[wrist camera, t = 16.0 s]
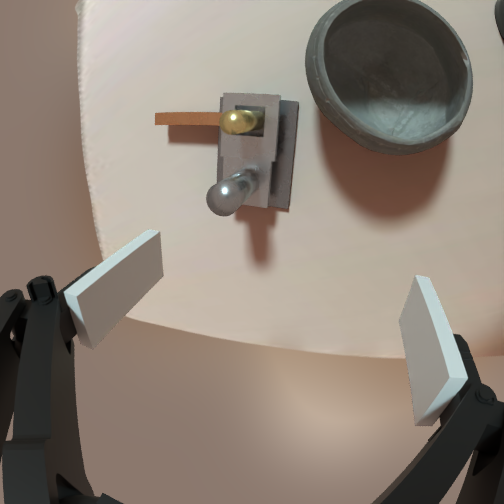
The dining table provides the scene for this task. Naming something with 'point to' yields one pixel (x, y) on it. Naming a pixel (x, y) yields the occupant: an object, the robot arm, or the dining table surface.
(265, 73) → the dining table surface
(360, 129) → the bowl
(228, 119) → the gold rounded cylinder
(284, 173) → the grey lever block
